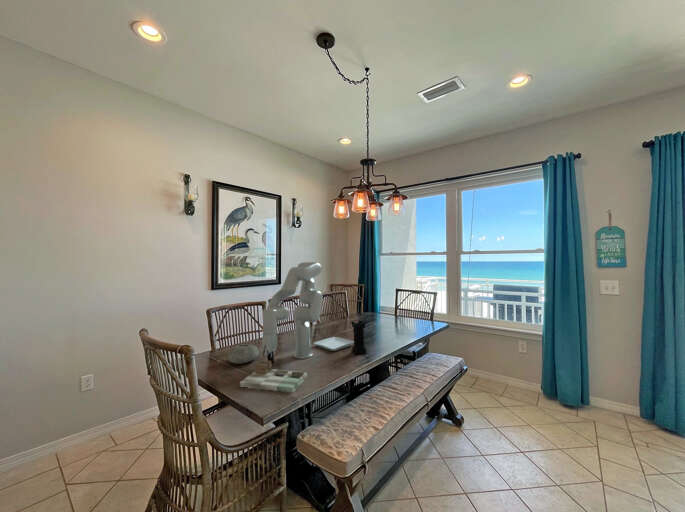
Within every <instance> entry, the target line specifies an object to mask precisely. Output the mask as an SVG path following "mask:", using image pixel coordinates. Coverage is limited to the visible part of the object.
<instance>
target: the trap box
mask: <svg viewBox="0 0 685 512" xmlns="http://www.w3.org/2000/svg"><path fill="white" fill-rule="evenodd" d="M307 378H308V371H307V372H306V371H297V370H286V369H285V370H284V369H278V368H277V369H275V368H272V370H271V371H270V372H269V373H267V374H266V375H263V374H256V373H255V371H253V372H252V373H251V374H249V375H247V376H246V377H245V378H244V379H242V380H241V381H239V387H240V386H241V387H240V388H242V387H248V388H247V389H251V388H257V389H256V390H260V389H264V390H263V391H269V390H273V391H272V392H278V391H281V392H280V393H287V392H289V394H293V393H294V392H295V391H296V390H297V389H298V388H299V386H300V385H302V384H303V382H304V381H306V379H307Z"/></svg>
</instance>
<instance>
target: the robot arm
mask: <svg viewBox="0 0 685 512" xmlns="http://www.w3.org/2000/svg"><path fill="white" fill-rule="evenodd" d="M321 273H322V266H321V264H320V263H319V262H316V261H314V262H313V261H312V262H311V261H305V262H300V263H299V264H298V265H297V266H294V267H293V266H292V267H291V268H289V270H288V272H287V274H286V277H285V279H284V281H283V284H282V287H281V288H280V289H279V290H277V292H276V293H275V294H273V296H272V297H271V298H270V300H269V303H268V304H267V307H266V308H264V309H263V310H262V338H261V353H262V354H263V353H264V357H266V358H267V359H266V361H271V365H273V364H275V352H276V350H277V349H278V347H279V346H278V344H279V342H278V321H281V320H282V321H283V320H286V319H288V318H289V316H290V315H291V312H290V309H289V308H288V307H287V306H282V305H280V303H281V302H282V301H284V300H285V299H287V298H289V297H291V296H293V295H295V294H296V292H297V289H298V286H299V283H300V282H301V286H300V292H299V296H298V301H299V303H300V304H302V305H297V306H296V307H295V308H294V309H293V313H292V314H293V315H292V316H293V320H294V331H295V332H294V333H295V338H294V339H295V352H293V354H292V356H293V358H295V359H300V360H301V359H303V360H304V359H310V358H311V357H313V356H314V351H312V348H313V347H312V345H311V325H310V323H317V322H318V321H319V319H320V316H321V311H322V310H321V309H322V305H323V300H324V299H323V293H322V292H321V291H320V290H317V289H315V285H316V283H315V279H314V278H316V277H317V276H319V275H320V274H321ZM305 305H307V306H305Z"/></svg>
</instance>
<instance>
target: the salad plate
mask: <svg viewBox="0 0 685 512" xmlns="http://www.w3.org/2000/svg"><path fill="white" fill-rule="evenodd" d="M313 344H314V345H315V346H316V347H319V348H321V349H324V350H326V351H327V350H328V351H332V352H336V351H340V350H342V349H344V348H348V347H350V346H353V345H354V340H351V339H347V338H342V337H339V336H338V337H337V336H331V337H329V338H324V339H322V340H318V341H315V342H313Z"/></svg>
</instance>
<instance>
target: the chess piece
mask: <svg viewBox="0 0 685 512" xmlns="http://www.w3.org/2000/svg"><path fill="white" fill-rule="evenodd" d="M350 323H351V327H352V328H353V330H352V332H353V341H354V343H353V345H352V348H351V350H350V352H351V353H352V354H353V355H355V356H363V355H368V351H367V349H366V346H365V344H364V343H365V342H364V341H365V340H364V339H365V338H364V336H365V335H364V334H365V329H364V328H366V324H367V323H366V321H363V320H358V322H355V321H350Z"/></svg>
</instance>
